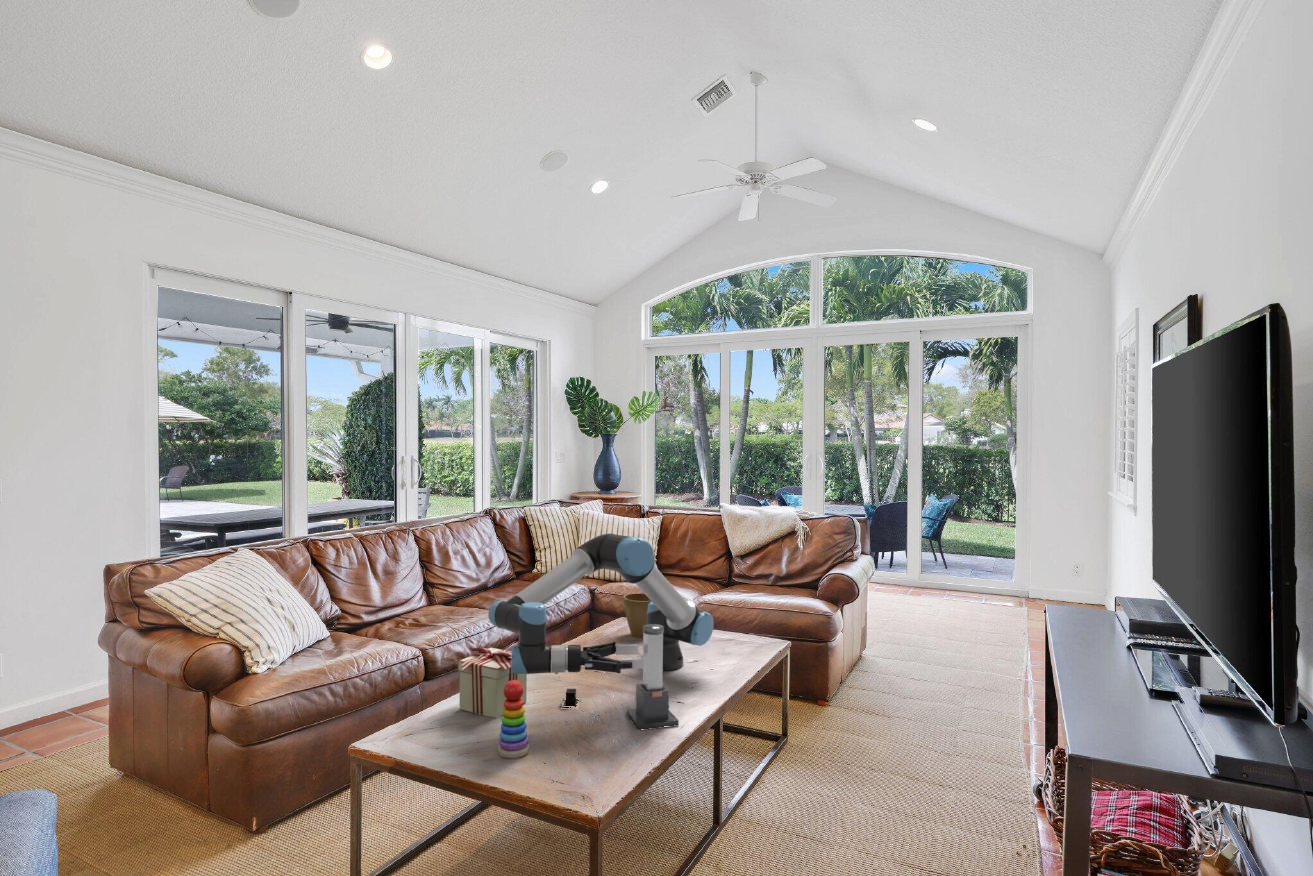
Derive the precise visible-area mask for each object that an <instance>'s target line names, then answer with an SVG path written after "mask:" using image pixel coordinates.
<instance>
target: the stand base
mask: <svg viewBox="0 0 1313 876" xmlns="http://www.w3.org/2000/svg"><path fill="white" fill-rule="evenodd" d="M669 698H670V691H669V689H668V688H667V687H666V686H665V685H664V684H663V683H662V690H657V691H647V692H646V691H645V690H644V688H643V683H638V684H636V685H635V708H632V709H631V708H629V709H626V712H625V713H626V714H627V715H628V716H627V715H626V716H627V717H629V718H628V719H629V720H630V721H632V722H633V723H632V722H631V723H632V724H633V726H634V725H635V726H636V727H635V726H634V727H635V728H636V730H637V729H638V730H640V731H642V730H641V729H648V730H650V729H649V728H656V729H660V728H659V727H664V726H673V727H675V726H674V725H679V723H680V721H679V719H678V718H677V717H676V716H675V715H674V714H673V712H671V711H670V709H669V707H670V704H669V702H670V700H669ZM664 728H665V727H664ZM638 730H637V731H638Z"/></svg>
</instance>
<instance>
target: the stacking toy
mask: <svg viewBox="0 0 1313 876" xmlns="http://www.w3.org/2000/svg"><path fill="white" fill-rule="evenodd" d="M523 691H524V689H523V685H522V684H521V683H520V682H519V681H517V680H512V681H509V682H508V683H507V684H506V685H505V687H504V695H505V697H506V698H507V699H506V700H505V701H504V707H505V708H504V710H503V714H504V715H502V716H501V722H502V723H501V724H500V732H499V738H500V739H499V743H498V744H499V746H498V748H497V752H498V755H500V756H501V757H502V758H505V759H517V758H521V757H524V756H526V755H527V754H528V752H529V751H530V744H529V742H530V739H529V736H528V729H527V723H526V715H525V712H526V711H525V710H526V708H525V707H524V703H523V699H522V698H520V697H521V696H522V694H523Z"/></svg>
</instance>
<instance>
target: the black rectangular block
mask: <svg viewBox="0 0 1313 876" xmlns="http://www.w3.org/2000/svg"><path fill="white" fill-rule="evenodd" d="M565 698H566V700H564V701H565V702H564V705H563V706H575V707H576V706H577V705H576V704H577V703H578V702H577V701H579V700H578V699H576V698H577V688H566V691H565ZM562 708H569V707H562ZM570 708H571V707H570Z"/></svg>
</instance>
